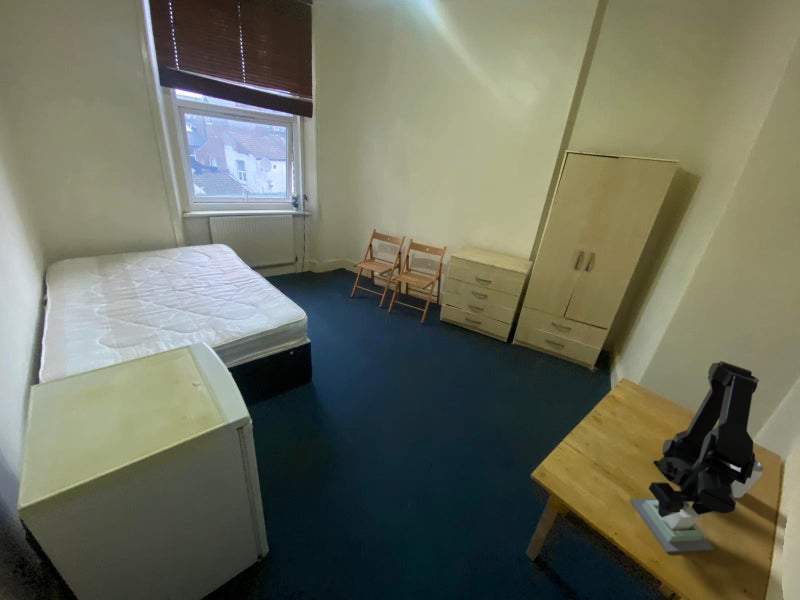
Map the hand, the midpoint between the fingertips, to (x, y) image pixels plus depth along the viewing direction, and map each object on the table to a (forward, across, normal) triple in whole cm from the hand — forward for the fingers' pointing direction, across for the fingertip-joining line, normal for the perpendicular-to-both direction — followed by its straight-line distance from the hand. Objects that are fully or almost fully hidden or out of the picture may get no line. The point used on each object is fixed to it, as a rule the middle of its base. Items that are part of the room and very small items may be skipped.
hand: (675, 514), depth 85 cm
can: (+4, -28, -9) cm, 30 cm away
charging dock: (+4, 0, 0) cm, 4 cm away
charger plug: (+4, 0, 0) cm, 4 cm away
